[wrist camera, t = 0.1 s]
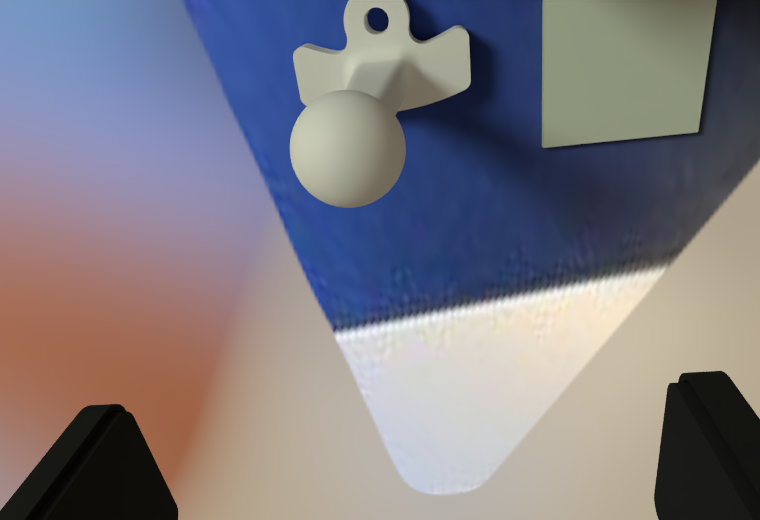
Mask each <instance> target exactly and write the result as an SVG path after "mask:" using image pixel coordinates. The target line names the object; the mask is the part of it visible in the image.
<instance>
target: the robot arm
mask: <svg viewBox="0 0 760 520" xmlns="http://www.w3.org/2000/svg"><path fill="white" fill-rule="evenodd" d="M654 501H655V508H656V512H657V516H658V519H659V520H760V419H759V418H758V416H757V415H756V414H755V412H754V411H753V409H752V408H751V407H750V405H749V404H748V402H747V401H746V400H745V398H744V397H743V395H742V394H741V393H740V391H739V390H738V388H737V387H736V386H735V384H734V383H733V381H732V380H731V379H730V377H729V376H728V375H727V374H726V373H724V372H722V371H714V372H694V373H683V374H681V376H680V377H679V381H678V383H670V384H669V386H668V389H667V397H666V405H665V413H664V421H663V429H662V437H661V445H660V453H659V462H658V469H657V477H656V485H655V494H654ZM0 520H178V508H177V505H176V503H175V501H174V499H173V497H172V495H171V493H170V490H169V488H168V486H167V484H166V482H165V480H164V478H163V476H162V474H161V472H160V470H159V468H158V466H157V464H156V462H155V460H154V458H153V456H152V453H151V451H150V449H149V447H148V445H147V443H146V441H145V439H144V437H143V435H142V433H141V431H140V429H139V427H138V425H137V423H136V420H135V418H134V416H133V415H132V414H131V413H130V412H127V411H126V410H125V408H124V407H123V406H121V405H119V404H109V405H91V406H87V407H85V408H83V409H82V410H81V411H80V412H79V413H78V415H77V416H76V417H75V418H74V420H73V421H72V422H71V423H70V425H69V426H68V427H67V428H66V429H65V431H64V432H63V433H62V435H61V436H60V437H59V438H58V439H57V441H56V442H55V443H54V444H53V446H52V447H51V448H50V449H49V451H48V452H47V453H46V455H45V456H44V457H43V458H42V460H41V461H40V462H39V463H38V465H37V466H36V467H35V468H34V470H33V471H32V472H31V473H30V474H29V476H28V477H27V478H26V480H25V481H24V482H23V483H22V484H21V486H20V487H19V488H18V489H17V491H16V492H15V493H14V494H13V496H12V497H11V498H10V499H9V501H8V502H7V503H6V504H5V506H4V507H3V508H2V509H1V511H0Z"/></svg>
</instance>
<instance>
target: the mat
mask: <svg viewBox="0 0 760 520" xmlns="http://www.w3.org/2000/svg"><path fill="white" fill-rule="evenodd" d="M716 3H717V0H543V26H542V147H543V148H548V147H558V146H567V145H577V144H587V143H597V142H607V141H617V140H626V139H636V138H646V137H656V136H666V135H675V134H685V133H695V132H698V130H699V123H700V116H701V109H702V102H703V95H704V88H705V80H706V73H707V66H708V59H709V52H710V45H711V38H712V31H713V24H714V17H715V10H716Z"/></svg>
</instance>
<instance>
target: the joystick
mask: <svg viewBox="0 0 760 520" xmlns="http://www.w3.org/2000/svg"><path fill="white" fill-rule="evenodd" d="M375 7H378V8H381V9H383V10H384V11H385V12H386V13H387V15H388V18H389V24H388V27H387V29H386V30H384V31H375V30H373V29H372V28H371V27H370V25H369V23H368V13H369V11H370V9H371V8H375ZM344 28H345V32H346V35H347V45H346V48H345V49H344V50H341V51H336V50H331V49H327V48H323V47H319V46H316V45H313V44H309V43H308V44H304V45H303V46H301V47H299V48H298V49H296V50H295V52H294V54H293V60H294V66H295V71H296V76H297V82H298V87H299V93H300V98H301V101H302V102H303V103H304V104H305V105H306V106H307V107H306V108H305V109H304V110H303V111H302V113H301V114H300V116H299V117H298V119H297V121H296V123H295V125H294V128H293V131H292V134H291V140H290V156H291V162H292V165H293V168H294V171H295V173H296V175H297V177H298V179H299V181H300V182H301V184H302V185H303V186H304V187H305V188H306V189H307V191H309V192H310V193H311V194H312V195H313V196H314V197H316V198H317V199H319V200H321V201H323V202H325V203H327V204H330V205H333V206H337V207H345V208H353V207H360V206H364V205H367V204H370V203H372V202H374V201H376V200H378V199H379V198H381V197H382V196H383V195H385V194H386V193H387V192H388V191H389V190H390V189H391V188H392V187H393V185H394V184H395V183H396V181H397V179H398V178H399V176H400V174H401V171H402V168H403V165H404V161H405V152H406V146H405V138H404V134H403V130H402V128H401V125H400V123H399V121H398V119H397V118H396V116H395V115H396V114H397V112H398V111H402V110H408V109H413V108H417V107H421V106H424V105H428V104H431V103H434V102H437V101H440V100H443V99H445V98H448V97H450V96H453V95H455V94H457V93H459V92H461V91H464V90H465V89H467V88H468V87H469V85H470V82H471V72H470V47H469V35H468V33H467V31H466V29H465V28H464V27H462V26H459V25H456V26H453V27H451V28H450V29H448V30H446V31H445V32H443V33H441V34H439V35H437V36H435V37H433V38H431V39H429V40H425V41H421V40H418V39H416V38H415V37H414V36H413V35H412V34H411V32H410V12H409V8H408V5H407V2H406V1H405V0H349V1H348V3H347V6H346V8H345V12H344Z"/></svg>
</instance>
